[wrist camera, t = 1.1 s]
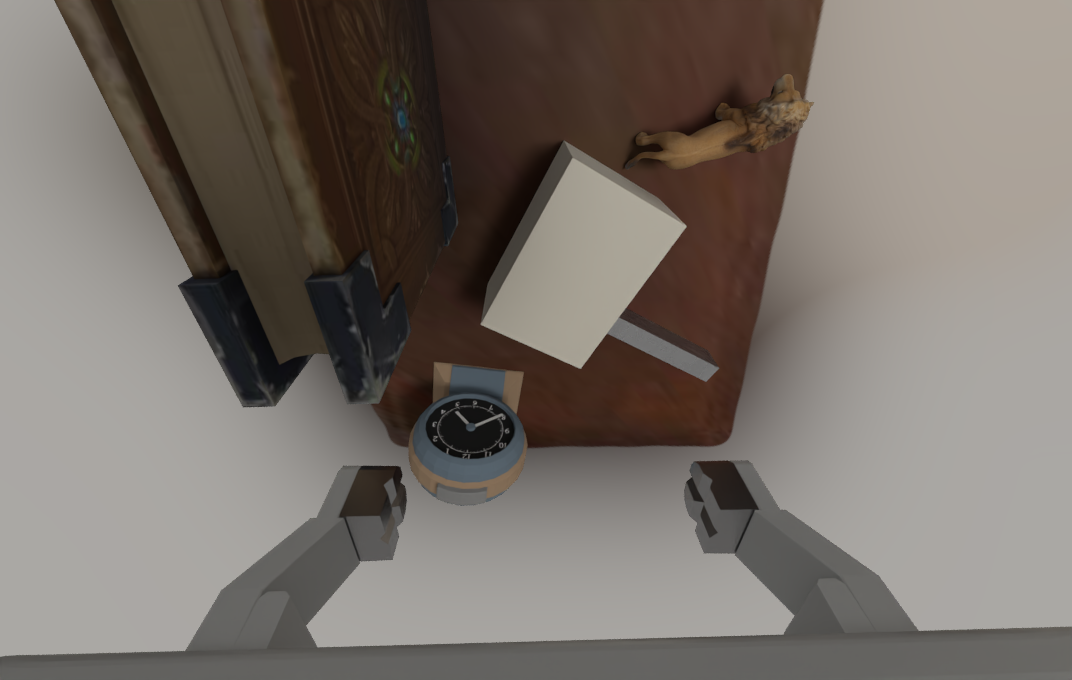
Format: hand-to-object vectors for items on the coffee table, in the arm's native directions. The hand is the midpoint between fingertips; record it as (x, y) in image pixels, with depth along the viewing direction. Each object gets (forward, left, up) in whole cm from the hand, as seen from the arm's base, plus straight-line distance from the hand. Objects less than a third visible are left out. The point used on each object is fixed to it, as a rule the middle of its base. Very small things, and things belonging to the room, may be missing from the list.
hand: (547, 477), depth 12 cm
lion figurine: (-12, +12, -39) cm, 43 cm away
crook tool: (+7, +23, -39) cm, 46 cm away
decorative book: (0, -14, -39) cm, 41 cm away
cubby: (+4, +7, -39) cm, 40 cm away
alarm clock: (+30, +7, -39) cm, 50 cm away
